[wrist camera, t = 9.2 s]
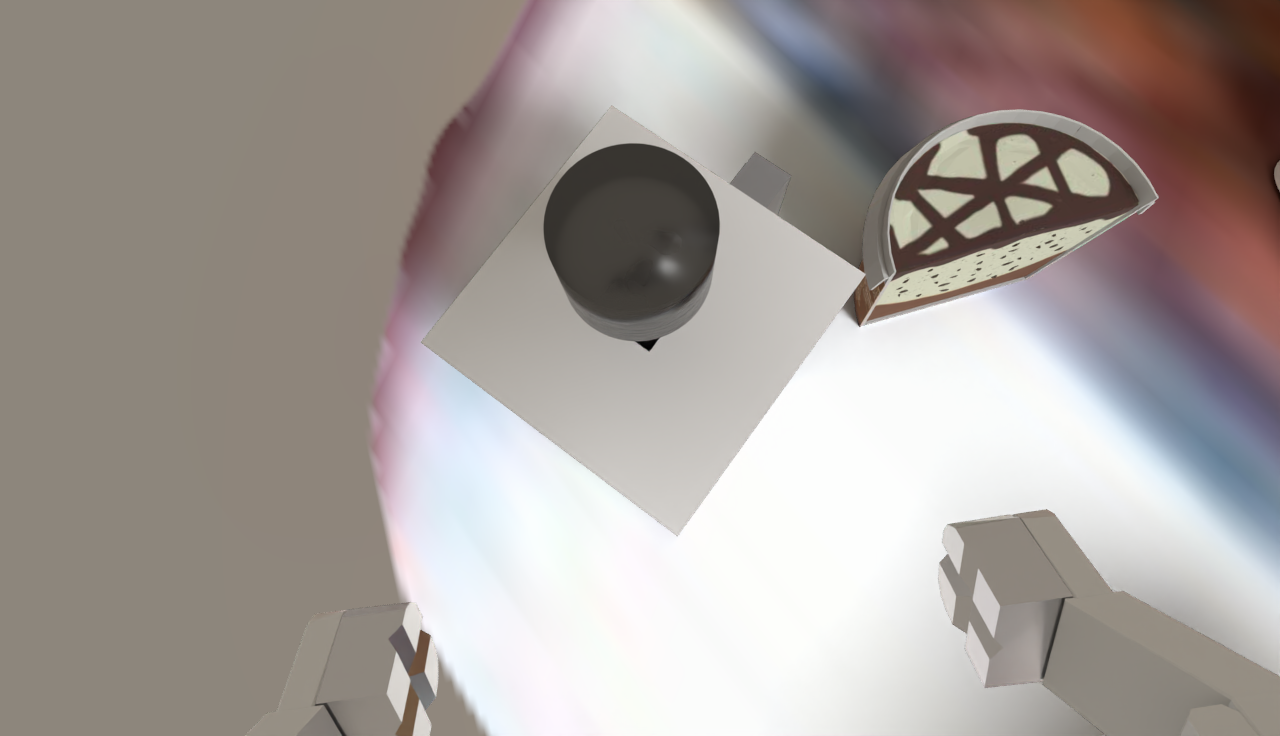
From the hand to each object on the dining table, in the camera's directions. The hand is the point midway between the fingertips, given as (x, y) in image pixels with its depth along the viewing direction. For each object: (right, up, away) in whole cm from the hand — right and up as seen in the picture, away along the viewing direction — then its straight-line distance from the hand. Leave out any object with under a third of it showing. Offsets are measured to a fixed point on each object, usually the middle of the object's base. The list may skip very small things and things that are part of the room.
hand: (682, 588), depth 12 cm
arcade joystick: (+1, +3, +29) cm, 30 cm away
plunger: (0, +3, +26) cm, 26 cm away
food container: (+15, +10, +30) cm, 35 cm away
